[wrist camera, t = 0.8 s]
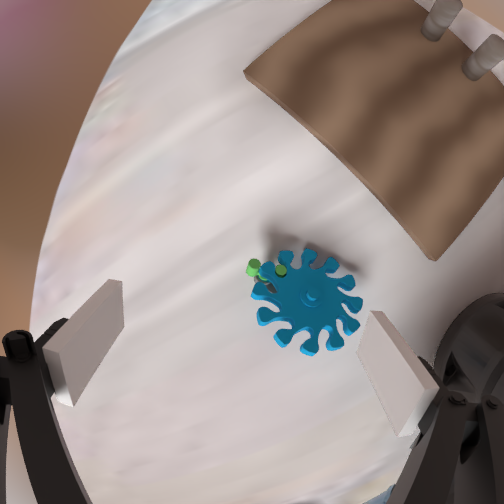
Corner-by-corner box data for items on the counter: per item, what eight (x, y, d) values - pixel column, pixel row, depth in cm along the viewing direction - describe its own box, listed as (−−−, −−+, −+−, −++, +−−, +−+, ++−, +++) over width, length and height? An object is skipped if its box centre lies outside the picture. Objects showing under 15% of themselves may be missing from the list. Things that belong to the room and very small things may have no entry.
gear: (381, 285, 27) (335, 374, 21) (353, 312, 32) (309, 389, 26) (284, 220, 29) (217, 291, 24) (270, 255, 34) (212, 321, 29)
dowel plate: (525, 130, 24) (569, 113, 15) (428, 258, 28) (471, 273, 19) (371, -17, 25) (382, -64, 16) (246, 79, 29) (226, 34, 20)
